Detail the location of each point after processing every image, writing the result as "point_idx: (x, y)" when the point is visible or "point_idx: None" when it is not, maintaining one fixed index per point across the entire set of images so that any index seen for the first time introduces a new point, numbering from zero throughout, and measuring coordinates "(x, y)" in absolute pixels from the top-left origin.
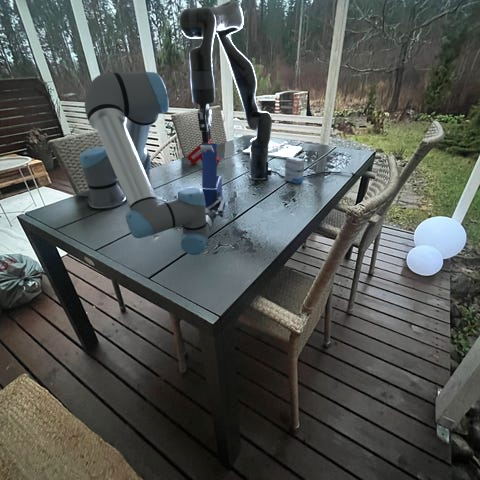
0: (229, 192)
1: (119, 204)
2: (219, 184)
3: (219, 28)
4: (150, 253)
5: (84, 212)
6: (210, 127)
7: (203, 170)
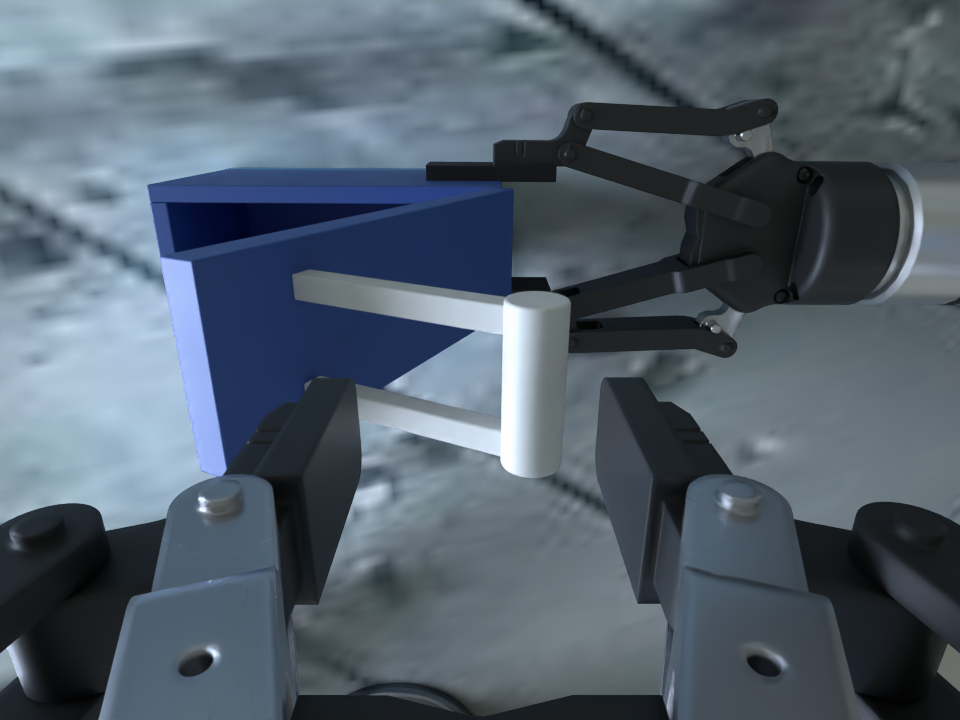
0: (128, 118)
1: (434, 696)
2: (312, 182)
3: None
4: (897, 435)
5: None
6: (267, 485)
7: (439, 340)
